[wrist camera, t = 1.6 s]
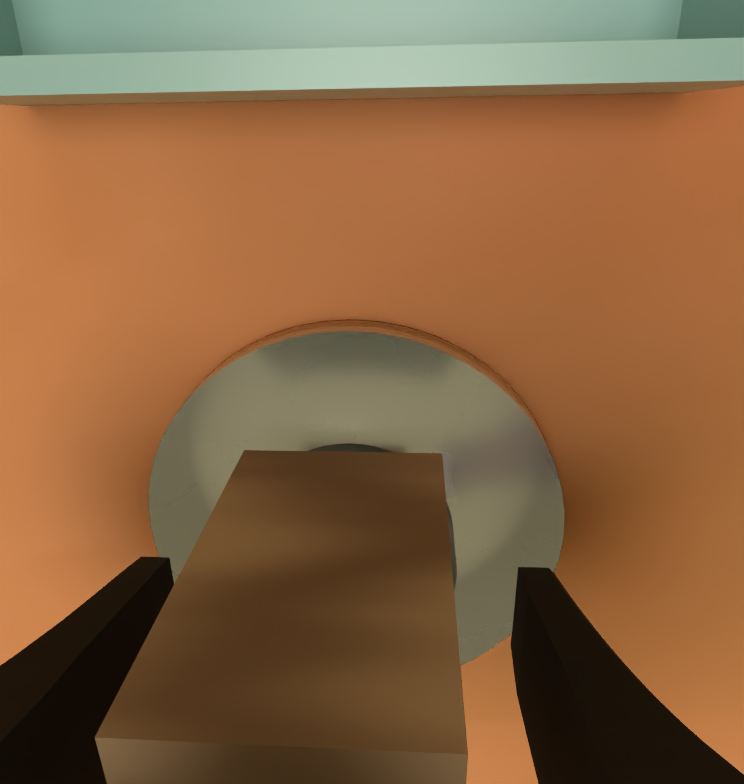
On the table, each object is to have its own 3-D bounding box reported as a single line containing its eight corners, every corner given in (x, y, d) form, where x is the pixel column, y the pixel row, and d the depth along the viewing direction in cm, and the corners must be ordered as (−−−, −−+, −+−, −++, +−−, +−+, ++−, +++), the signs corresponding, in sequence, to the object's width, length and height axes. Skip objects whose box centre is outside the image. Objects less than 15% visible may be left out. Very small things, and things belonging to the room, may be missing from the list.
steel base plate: (577, 320, 14) (588, 334, 13) (537, 661, 18) (544, 691, 17) (134, 319, 14) (115, 332, 14) (190, 649, 18) (178, 677, 17)
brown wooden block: (457, 420, 14) (507, 755, 7) (449, 630, 16) (477, 1050, 9) (243, 418, 14) (58, 735, 7) (264, 624, 17) (145, 1025, 9)
